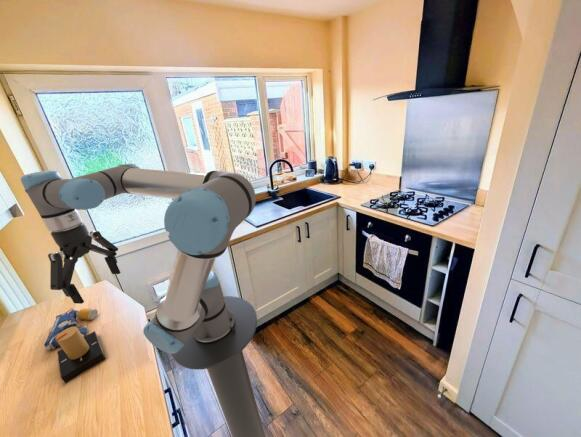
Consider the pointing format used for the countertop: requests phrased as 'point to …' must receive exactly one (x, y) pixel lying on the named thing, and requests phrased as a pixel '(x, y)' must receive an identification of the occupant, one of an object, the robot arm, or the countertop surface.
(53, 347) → the spray gun
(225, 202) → the robot arm
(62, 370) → the black dial panel
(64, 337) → the brass dial cylinder
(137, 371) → the countertop surface
